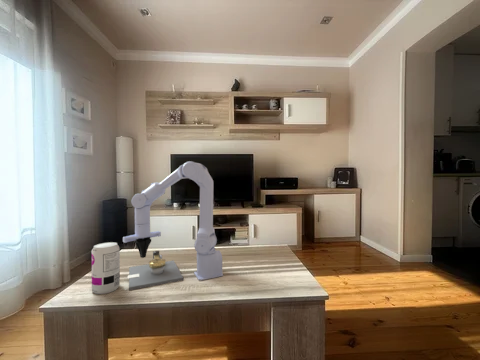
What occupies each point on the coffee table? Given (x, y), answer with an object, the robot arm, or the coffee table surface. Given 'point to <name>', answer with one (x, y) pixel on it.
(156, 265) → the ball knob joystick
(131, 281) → the plate
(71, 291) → the coffee table surface
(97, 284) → the supplement can
